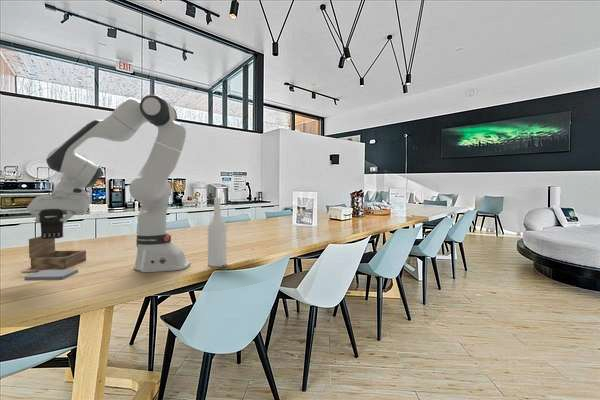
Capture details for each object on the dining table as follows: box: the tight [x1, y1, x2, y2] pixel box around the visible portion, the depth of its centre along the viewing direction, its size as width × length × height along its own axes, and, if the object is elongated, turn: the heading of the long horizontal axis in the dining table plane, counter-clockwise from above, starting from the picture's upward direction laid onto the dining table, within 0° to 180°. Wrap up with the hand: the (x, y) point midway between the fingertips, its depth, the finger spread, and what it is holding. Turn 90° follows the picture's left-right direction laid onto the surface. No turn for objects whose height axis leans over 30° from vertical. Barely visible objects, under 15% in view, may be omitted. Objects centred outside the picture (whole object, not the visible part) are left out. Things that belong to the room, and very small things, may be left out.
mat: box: [24, 269, 79, 281], centre depth 120 cm, size 13×10×1 cm
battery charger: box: [39, 208, 64, 239], centre depth 119 cm, size 7×4×11 cm, turn 119°
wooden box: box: [21, 235, 87, 273], centre depth 134 cm, size 14×20×12 cm
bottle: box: [207, 197, 227, 267], centre depth 139 cm, size 8×8×30 cm
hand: (50, 221), depth 118 cm, fingers closed on battery charger, 7 cm apart
